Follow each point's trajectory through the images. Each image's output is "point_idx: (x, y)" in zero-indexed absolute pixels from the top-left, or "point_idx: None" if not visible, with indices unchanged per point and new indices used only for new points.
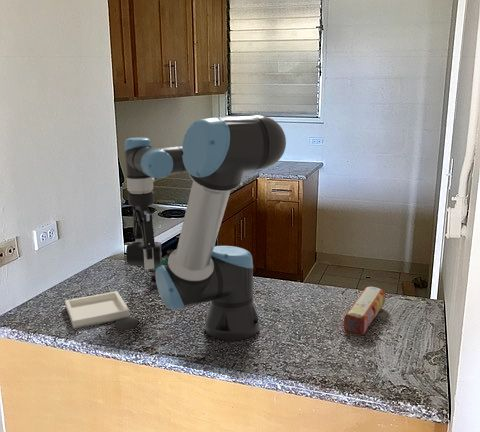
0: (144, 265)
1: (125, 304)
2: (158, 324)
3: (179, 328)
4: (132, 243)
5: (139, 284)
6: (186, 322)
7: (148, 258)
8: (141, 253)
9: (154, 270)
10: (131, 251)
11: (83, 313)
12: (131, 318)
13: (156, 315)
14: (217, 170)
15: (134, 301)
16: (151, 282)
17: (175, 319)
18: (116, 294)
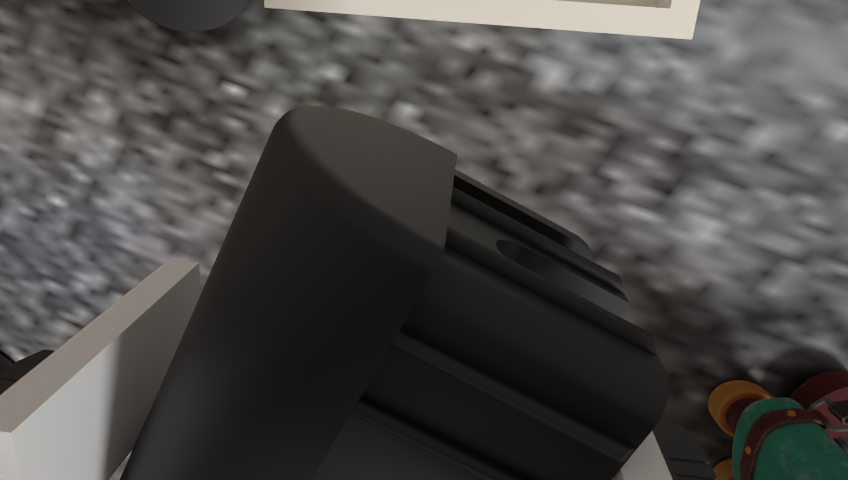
0: (177, 281)
1: (379, 13)
2: (108, 139)
3: (16, 222)
4: (603, 395)
5: (817, 267)
6: (77, 284)
7: (27, 367)
8: (176, 353)
9: (824, 425)
10: (244, 232)
11: None
12: (228, 3)
13: (238, 175)
14: None
15: (534, 128)
16: (789, 347)
17: (138, 249)
18: (624, 10)
